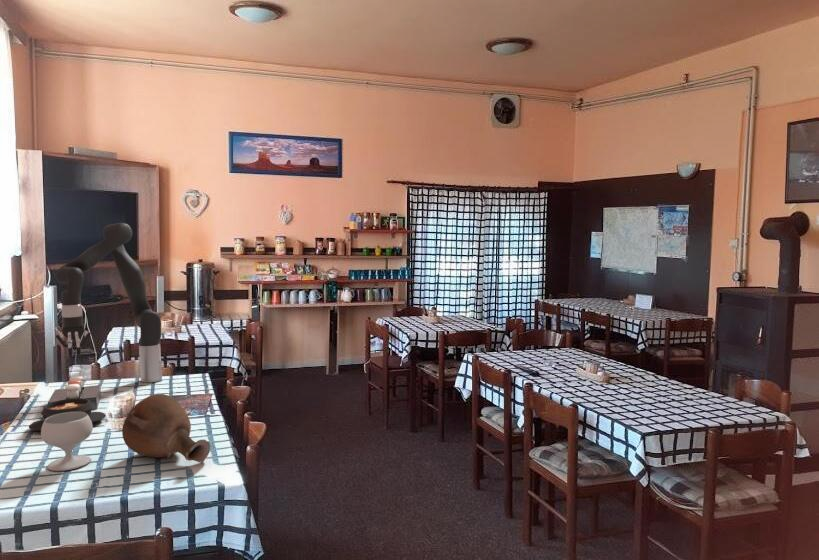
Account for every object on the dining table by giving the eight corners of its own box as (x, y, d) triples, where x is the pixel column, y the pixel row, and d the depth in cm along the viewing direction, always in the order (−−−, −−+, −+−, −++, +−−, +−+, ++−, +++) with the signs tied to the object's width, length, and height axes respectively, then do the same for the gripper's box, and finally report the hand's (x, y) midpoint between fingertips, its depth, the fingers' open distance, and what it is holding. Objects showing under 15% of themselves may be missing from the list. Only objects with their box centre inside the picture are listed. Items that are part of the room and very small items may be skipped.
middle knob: (82, 393, 258) (82, 379, 258) (81, 396, 254) (80, 382, 253) (69, 394, 257) (68, 380, 256) (67, 397, 252) (66, 383, 251)
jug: (114, 455, 200) (174, 491, 184) (105, 402, 193) (167, 435, 177) (168, 425, 216) (228, 456, 200) (161, 376, 209) (223, 404, 193)
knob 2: (81, 397, 252) (80, 383, 251) (79, 401, 247) (78, 386, 247) (67, 399, 250) (66, 384, 249) (65, 402, 245) (64, 387, 245)
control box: (101, 396, 268) (100, 385, 267) (97, 409, 249) (96, 397, 249) (56, 401, 262) (55, 389, 261) (48, 414, 243) (47, 402, 243)
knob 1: (84, 389, 265) (83, 375, 264) (83, 392, 260) (82, 378, 260) (71, 390, 263) (70, 376, 262) (69, 393, 258) (68, 379, 258)
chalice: (83, 452, 203) (80, 407, 201) (102, 462, 194) (99, 415, 193) (35, 466, 192) (32, 418, 191) (54, 477, 183) (51, 427, 182)
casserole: (29, 439, 216) (27, 416, 215) (29, 425, 231) (27, 403, 231) (108, 426, 228) (107, 404, 228) (103, 413, 244) (102, 392, 243)
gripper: (91, 312, 264) (94, 353, 266) (54, 315, 259) (57, 356, 261) (89, 315, 258) (92, 356, 259) (52, 317, 252) (55, 359, 254)
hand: (75, 356), depth 260 cm, fingers closed
